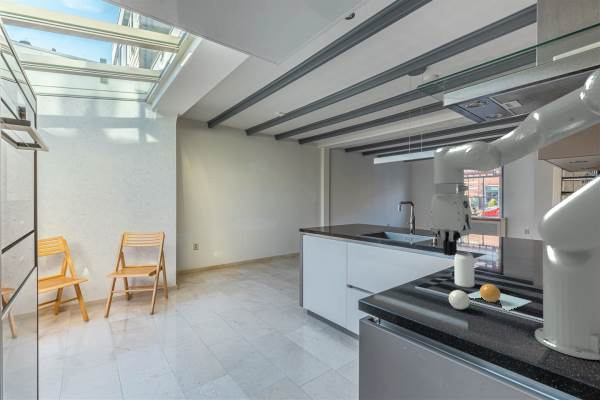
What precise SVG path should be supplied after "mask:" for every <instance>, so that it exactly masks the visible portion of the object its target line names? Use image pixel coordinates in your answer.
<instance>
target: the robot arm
mask: <svg viewBox="0 0 600 400" xmlns="http://www.w3.org/2000/svg"><path fill="white" fill-rule="evenodd" d="M597 124H600V67H599V68H598V69H596V70H594V71H593V72H591V74H590V75H589V76H588V77H587V79H586V80H585V82H584V83H583V86H580V87H579V88H576V89H575V90H573V91H570V92H569V93H567V94H565V95H563V96H561V97H559V98H556V99H555V100H553V101H551V102H549V103H547V104H544V105H543V106H541V107H539V108H537V109H535V110H534V111H532V112H531V113H530V114H528V116H526V118H524V120H523V121H522V123H520V125H518V126H517V127H516V128H514V129H513V130H512V131H509V132H508V133H507V134H504V135H502V136H501V137H499V138H497V139H495V140H493V141H491V142H488V143H487V142H486V141H482V140H481V141H480V140H477V141H476V140H475V141H471V142H467V143H463V144H460V145H455V146H454V145H452V146H451V145H450V146H442V147H438V148H436V149H435V150H434V153H433V167H434V168H433V170H434V171H433V172H434V173H433V175H434V176H433V177H434V181H433V182H434V195H432V199H431V204H430V214H429V215H430V226H431V232H432V233H435V234H437V235H439V237H440V238H441V239H440V240H441V241H442V242H443V244H442V245H443V247H442V250H443V254H444V256H455V255H456V252H458V251H457V249H458V248H457V246H458V244H457V242H458V241H459V240H460V239H461V237H465V236H470V233H471V232H470V230H472V228H473V220H472V209H471V203H470V199H469V197H468V195H467V194H465V192H466V191H469V185H466V184H465V170H467V171H468V170H469V171H477V172H483V173H485V172H490V171H494V170H496V169H499V168H501V167H504V166H506V165H509V164H511V163H513V162H516V161H518V160H520V159H522V158H524V157H526V156H529V155H531V154H533V153H534V152H537V151H538V150H539V151H540V150H541V149H544V148H545V147H547V146H550V145H551V144H553V143H555V142H557V141H560V140H562V139H565V138H567V137H569V136H571V135H575V134H576V133H578V132H581V131H584V130H586V129H587V128H590V127H592V126H594V125H597ZM537 232H538V235H539V236H540V239H541V240H542V296H543V297H542V306H543V307H542V312H543V313H542V315H543V318H542V319H543V320H542V321H543V322H542V323H543V327H539V328H537V329H535V331H534V338H535V339H536V340H537V341H538V342H539V343H541V345H543V346H545V347H547V348H549V349H552V350H554V351H556V352H558V353H562V354H564V355H568V356H570V357H574V358H578V359H585V360H590V361H591V360H593V361H597V360H598V361H600V173H599V174H597V175H596V176H595V177H593V178H592V179H591V180H589V181H588V182H586V183H585V184H583V185H582V186H580V187H579V188H578V189H576V190H575V191H573V192H572V193H570V194H569V195H568V196H566V197H565V198H563V199H562V200H560V201H559V202H558V203H556V204H554V205H553V206H552V207H550V208H549V209H547V210H546V211H544V213H542V215H541V216H540V218H539V220H538V222H537Z"/></svg>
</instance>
